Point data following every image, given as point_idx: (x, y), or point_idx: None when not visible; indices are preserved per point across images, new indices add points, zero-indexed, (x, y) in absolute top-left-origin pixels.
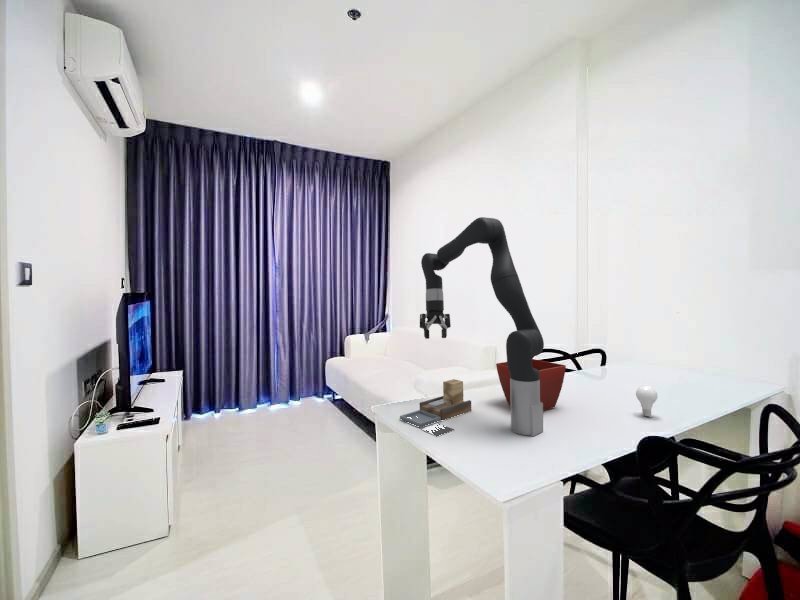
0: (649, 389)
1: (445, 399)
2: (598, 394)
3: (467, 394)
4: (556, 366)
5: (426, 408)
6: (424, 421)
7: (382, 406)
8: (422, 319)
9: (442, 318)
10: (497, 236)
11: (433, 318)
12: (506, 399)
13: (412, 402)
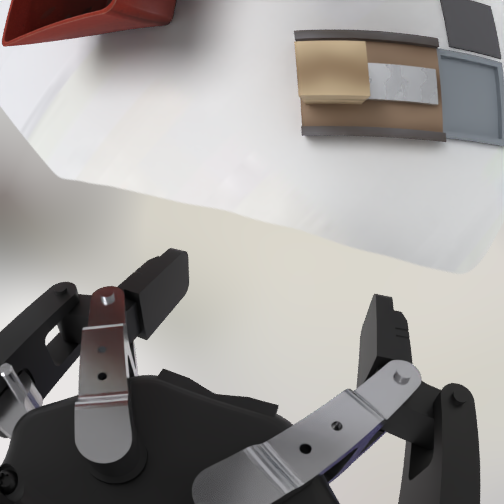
0: None
1: None
2: None
3: (182, 169)
4: None
5: (441, 108)
6: (486, 63)
7: (461, 268)
8: (473, 492)
9: (70, 402)
10: None
11: (284, 477)
12: (167, 20)
13: (380, 233)
